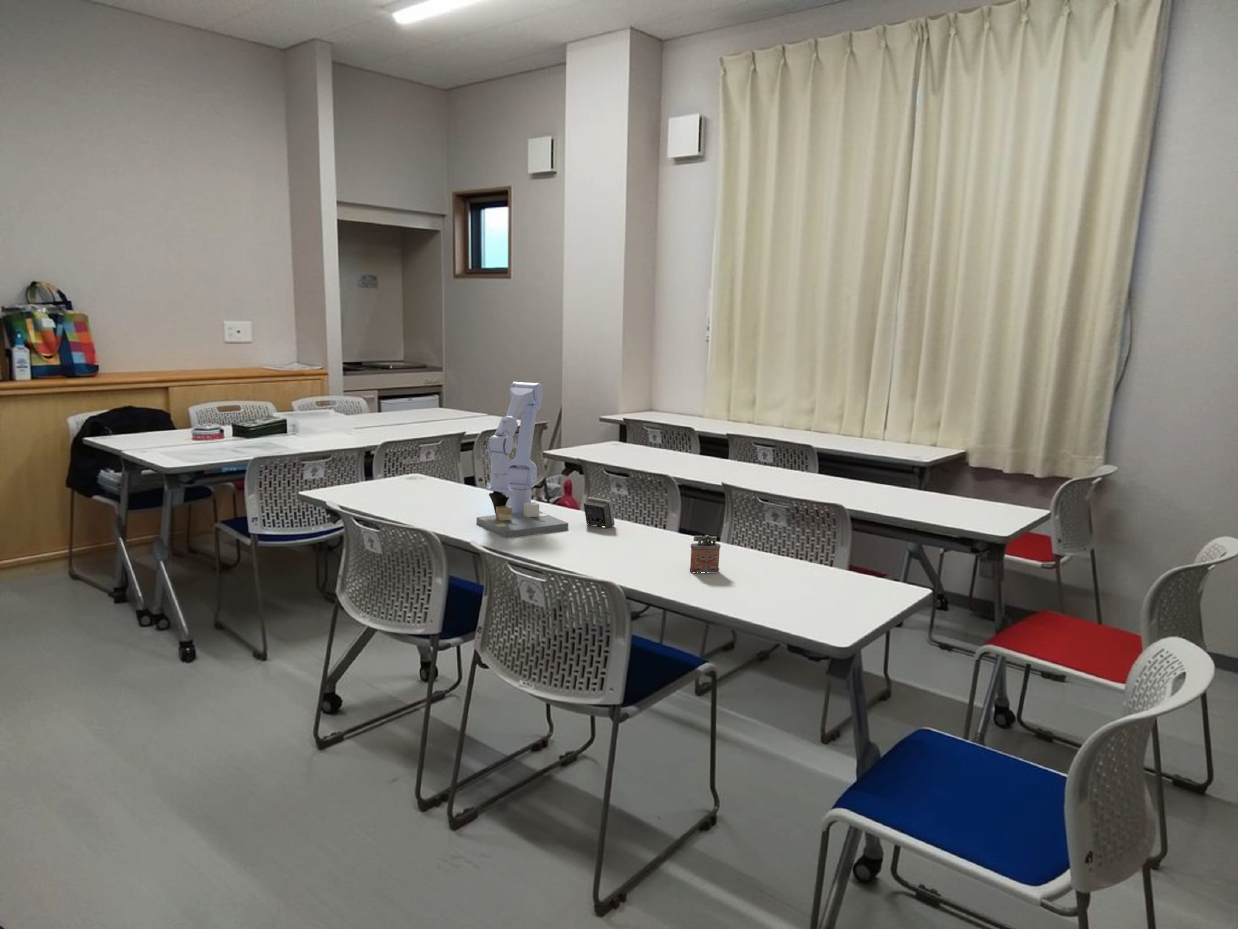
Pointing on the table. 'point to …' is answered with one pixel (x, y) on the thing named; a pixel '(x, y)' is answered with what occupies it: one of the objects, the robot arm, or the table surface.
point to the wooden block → (503, 513)
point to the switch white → (531, 509)
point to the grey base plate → (522, 524)
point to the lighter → (705, 554)
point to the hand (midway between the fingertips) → (499, 515)
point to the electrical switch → (599, 512)
